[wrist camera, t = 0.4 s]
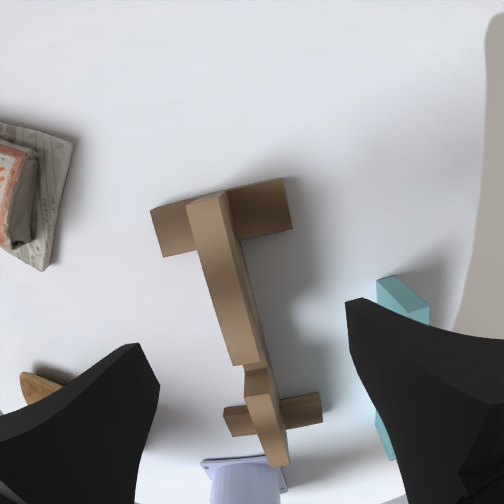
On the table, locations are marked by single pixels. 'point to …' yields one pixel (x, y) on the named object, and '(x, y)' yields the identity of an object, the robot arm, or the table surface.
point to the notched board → (240, 300)
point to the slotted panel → (409, 305)
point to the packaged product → (31, 191)
